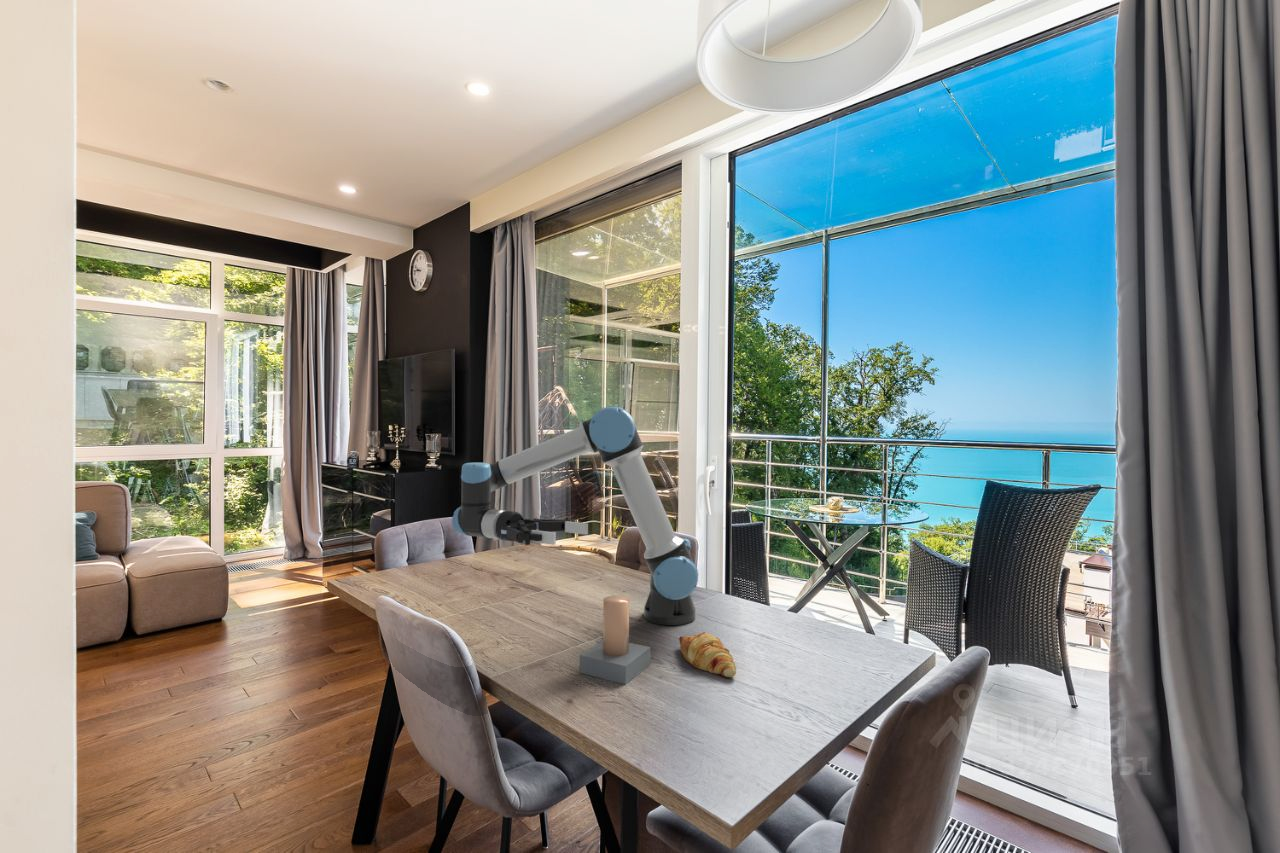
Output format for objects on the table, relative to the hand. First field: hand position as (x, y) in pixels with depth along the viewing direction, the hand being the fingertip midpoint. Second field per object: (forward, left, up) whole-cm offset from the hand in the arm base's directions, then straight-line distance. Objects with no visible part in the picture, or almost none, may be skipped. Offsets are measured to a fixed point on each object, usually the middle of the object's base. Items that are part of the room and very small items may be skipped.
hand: (571, 533), depth 140 cm
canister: (0, +13, -26) cm, 29 cm away
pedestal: (0, +13, -30) cm, 33 cm away
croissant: (-13, +30, -30) cm, 44 cm away
